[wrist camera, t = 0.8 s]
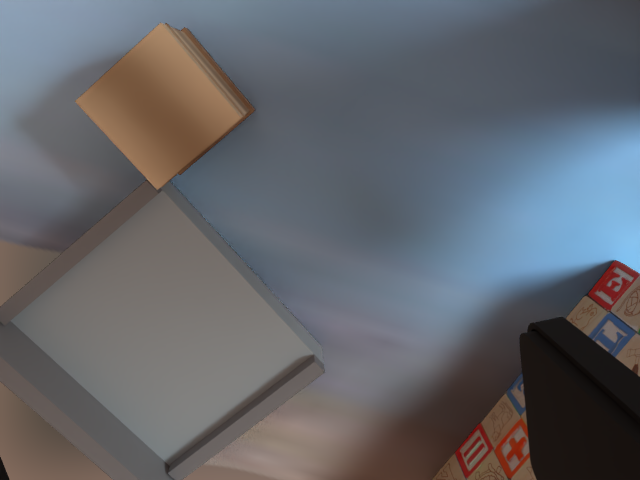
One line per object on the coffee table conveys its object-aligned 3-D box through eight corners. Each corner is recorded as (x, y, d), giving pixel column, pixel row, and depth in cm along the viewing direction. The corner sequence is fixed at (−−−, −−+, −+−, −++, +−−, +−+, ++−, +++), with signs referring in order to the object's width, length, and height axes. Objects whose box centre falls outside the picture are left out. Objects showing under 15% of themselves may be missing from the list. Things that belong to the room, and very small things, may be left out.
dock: (160, 170, 35) (136, 186, 30) (321, 346, 39) (326, 388, 34) (4, 305, 37) (-44, 343, 32) (173, 460, 41) (155, 517, 36)
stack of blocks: (612, 255, 38) (756, 335, 26) (678, 300, 39) (844, 396, 28) (429, 481, 43) (481, 636, 31) (492, 515, 44) (567, 677, 32)
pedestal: (188, 28, 33) (160, 16, 26) (255, 109, 34) (246, 118, 27) (114, 95, 34) (68, 100, 27) (183, 172, 35) (157, 195, 28)
